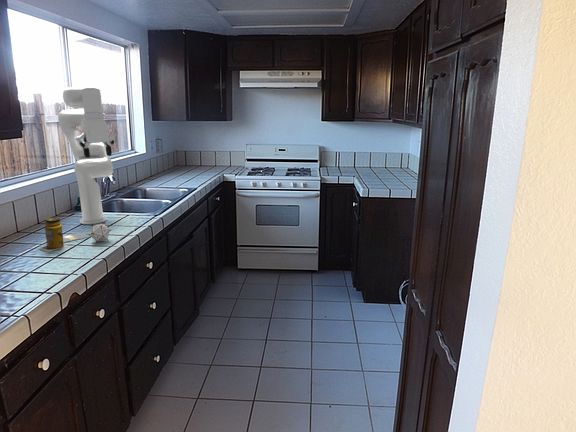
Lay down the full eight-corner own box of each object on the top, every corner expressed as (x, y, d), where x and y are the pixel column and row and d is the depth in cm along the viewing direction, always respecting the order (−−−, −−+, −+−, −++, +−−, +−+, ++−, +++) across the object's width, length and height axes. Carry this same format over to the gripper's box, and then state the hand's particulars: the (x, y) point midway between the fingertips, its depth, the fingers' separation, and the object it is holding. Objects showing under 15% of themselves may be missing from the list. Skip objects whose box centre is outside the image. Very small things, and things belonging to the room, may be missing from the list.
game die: (105, 250, 182) (107, 235, 175) (84, 244, 180) (86, 229, 173) (112, 235, 188) (115, 220, 182) (92, 229, 186) (94, 214, 180)
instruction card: (48, 239, 184) (48, 238, 184) (81, 232, 195) (81, 232, 194) (57, 244, 178) (57, 243, 178) (90, 237, 188) (90, 236, 188)
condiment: (68, 246, 175) (65, 218, 172) (49, 252, 168) (45, 223, 165) (57, 243, 178) (54, 215, 175) (37, 248, 171) (34, 220, 168)
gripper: (108, 116, 191) (112, 154, 195) (69, 117, 179) (74, 157, 182) (117, 116, 187) (121, 155, 191) (77, 116, 174) (82, 158, 178)
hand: (98, 156), depth 186 cm, fingers open, 9 cm apart
